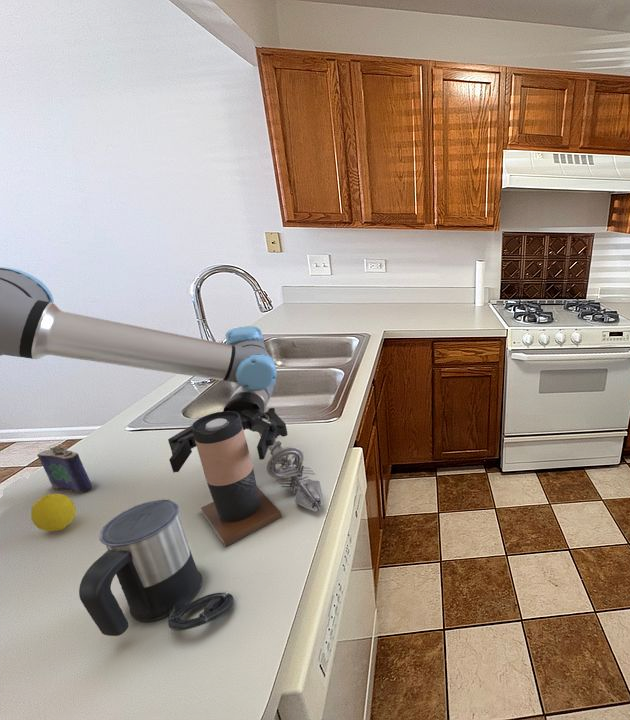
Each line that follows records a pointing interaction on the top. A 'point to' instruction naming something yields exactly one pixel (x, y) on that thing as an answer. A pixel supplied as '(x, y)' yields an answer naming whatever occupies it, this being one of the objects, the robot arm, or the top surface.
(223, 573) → the top surface
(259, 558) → the top surface
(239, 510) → the travel mug
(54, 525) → the lemon
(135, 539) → the milk frother
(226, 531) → the serving board
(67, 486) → the flask
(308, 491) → the spaceship
